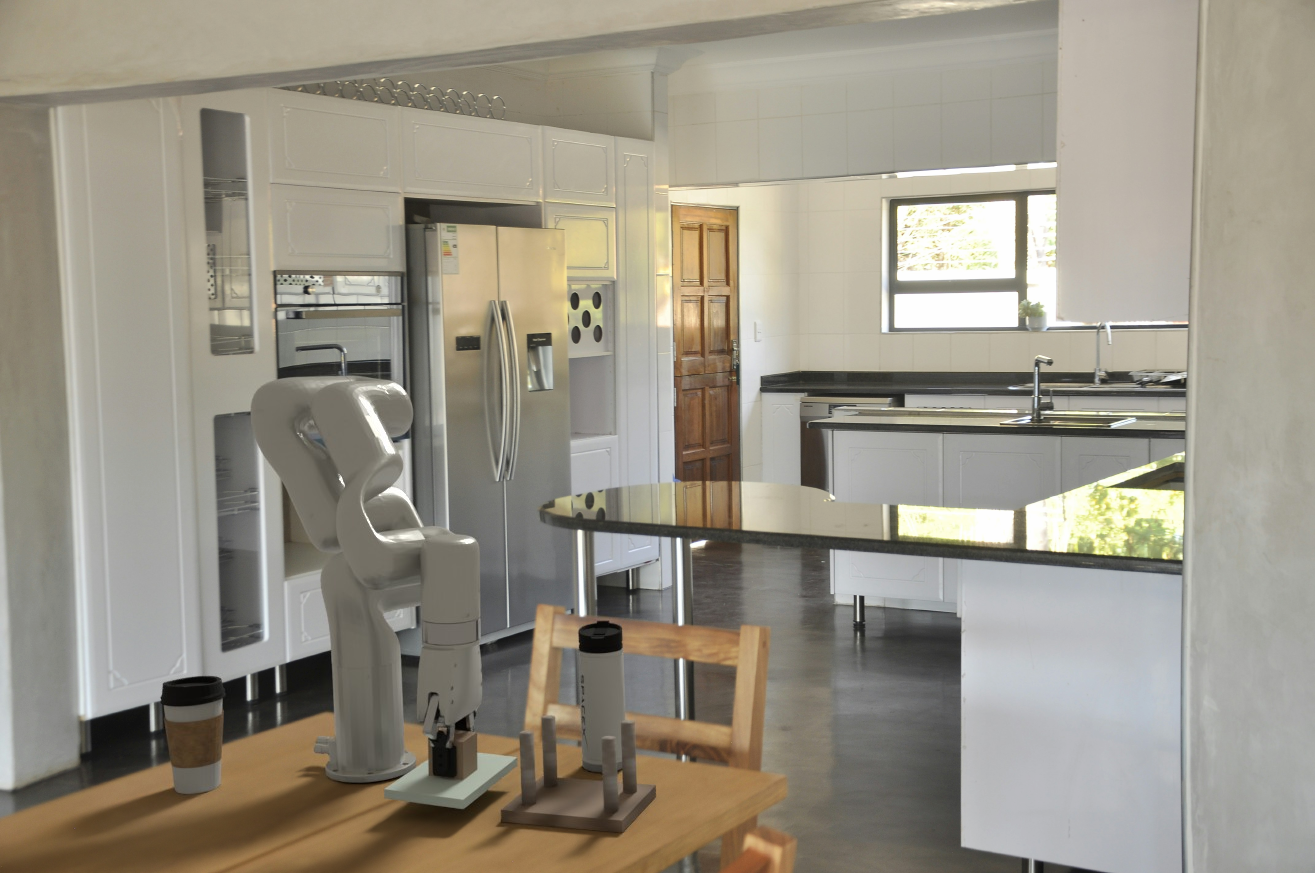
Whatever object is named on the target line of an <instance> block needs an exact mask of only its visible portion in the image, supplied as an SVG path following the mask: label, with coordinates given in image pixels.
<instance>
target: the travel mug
mask: <svg viewBox="0 0 1315 873" xmlns="http://www.w3.org/2000/svg"><path fill="white" fill-rule="evenodd" d="M577 634H578V669H579V670H578V672H579V673H578V674H579V700H580V703H579V705H580V730H581V731H580V733H581V754H582V756H581V757H582V758H581V759H582V763H581V764H582V765H581V766H582V767H583V769H584V770H586V771H588V772H592V773H599V774H600V773H602V774H603V769H602V739H601V738H602V737H605V736H614V737H616V748H617V772H618V771H622V746H621V722H622V721H625V720H626V695H625V694H626V692H625V691H626V690H625V689H626V688H625V667H624V666H625V664H624V662H625V660H624V658H625V657H624V643H623V638H624V637H623V627H622V625H620V624H617V623H615V622H614V623H613V622H610V620H597V621H596V622H593V623H589V624H585V625H583V626H581V627H580V628H579V629H578V632H577Z"/></svg>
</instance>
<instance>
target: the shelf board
mask: <svg viewBox="0 0 1315 873" xmlns="http://www.w3.org/2000/svg"><path fill="white" fill-rule="evenodd" d="M440 730H441V731H443V732H444V733H445V734H446V732H447V728H441V729H440ZM453 746H456V749H457V775H456V776H455V777H454V778H450V777H442V776H435V775H433V767H432V746H431V745H430V740H429V738H428V737H427V750H428V751H427V752H428V753H427V755H428V756H427V760H425V761H423V762H422V763H420V764H418V765H416V766H415V768H414V769H413V770H411V771H410V772H408V773H406V774H404V775H402V776H400V778H399V779H397V780H395V781H393V782H392V783H391V784H390V785H388V786H386V787H385V788H384V789H383V799H384V800H385V799H386V800H393V801H400V802H407V803H408V802H409V803H416V804H422V805H430V806H438V807H447V808H451V809H453V808H454V809H458V810H459V809H460V810H464V809H465V808H467V807H468V806H470V804H472V803H473V802H474V801H475V800H477V799H478V798H479V797H481V796H482V795H483V794H484V793H486V792H487V791H488V790H489V789H490V788H492V787H493V786H495V785H496V784H497V783H498V782H499V781H501V780H502V779H503V778H504V777H506V776H507V775H508V774H509V773H511V771H512V772H513V770H514V769H516V768H517V767H518V757H517V756H509V755H502V754H495V753H485V752H478V732H477V731H476V732H475V731H474V732H470V731H461V730H454V743H453Z"/></svg>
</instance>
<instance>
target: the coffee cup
mask: <svg viewBox="0 0 1315 873" xmlns="http://www.w3.org/2000/svg"><path fill="white" fill-rule="evenodd" d="M161 689H162V690H161V696H160V697H159V698H160V704H161V705H163V710H164V717H163V721H164V727H165V735H166V741H167V746H168V747H167V748H168V752H169V753H168V754H169V758H170V759H169V760H170V765H171V770H172V780H173V785H174V787H173V788H174V790H175V792H176V793H178V794H182V795H183V794H184V795H195V794H202V793H207V792H210V791H213V790H216V789H217V788H219V786H220V785H221V781H222V780H221V779H222V778H221V777H222V775H221V774H222V770H221V769H222V754H223V753H222V752H223V735H224V714H225V713H224V712H225V711H224V709H223V699H224V698H225V697H226V689H225V688H224V684H223V680H222V678H221V677H219V676H216V675H215V676H214V675H196V676H188V677H181V678H177V679H171V680H168V681H164V682H163V683H162V688H161Z"/></svg>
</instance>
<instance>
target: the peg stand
mask: <svg viewBox="0 0 1315 873" xmlns="http://www.w3.org/2000/svg"><path fill="white" fill-rule="evenodd" d="M540 720H541V738H542V739H541V740H542V769H543V774H542V776H541V777H540V778H538V779H537V780H536V763H535V761H536V759H535V758H536V757H535V756H536V755H535V735H534V734H535V733H534V731H533V730H523V731H519V732H518V733H519V736H518V737H519V758H520V759H519V760H520V761H519V762H520V764H519V765H520V786H521V787H520V789H521V790H520V792H521V793H519V794H518V795H517V796H516V797H515V798H514V799H512V800H511V801H509V802H508V803H507V804H505V806H504V807H502V808H501V809H500V821H501V822H502V823H510V824H511V823H513V824H522V825H534V826H542V827H543V826H544V827H547V826H548V827H555V828H556V827H557V828H565V829H566V828H568V829H576V830H577V829H578V830H590V831H599V832H600V831H601V832H611V833H612V832H613V833H624V832H625V831H626V830H627V829H628V828H629V827H630V826H631V824H632V823H633V822H634V821H635V820H636V819H637V817H639V816H640V814H641V813H642V812H643V811H644V810H645V809H646V808H647V807H648V806H649V805H650V804H651V802H652V801H654V800H655V798H656V797H657V785H656V784H646V783H638V782H637V779H638V777H637V775H638V774H637V755H636V754H637V750H636V722H635V720H630V719H628V720H625V721H622V722H621V746H622V769H621V771H622V775H621V776H622V782H621V781H620V782H619V781H618V771H617V748H616V737H614V736H605V737H602V738H601V739H602V769H603V773H602V780H595V779H594V780H593V779H583V778H582V779H579V778H571V777H569V778H568V777H558V760H557V759H558V758H557V752H558V751H557V730H556V729H557V728H556V716H555V715H552V714H549V715H543V716H541V719H540Z"/></svg>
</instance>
